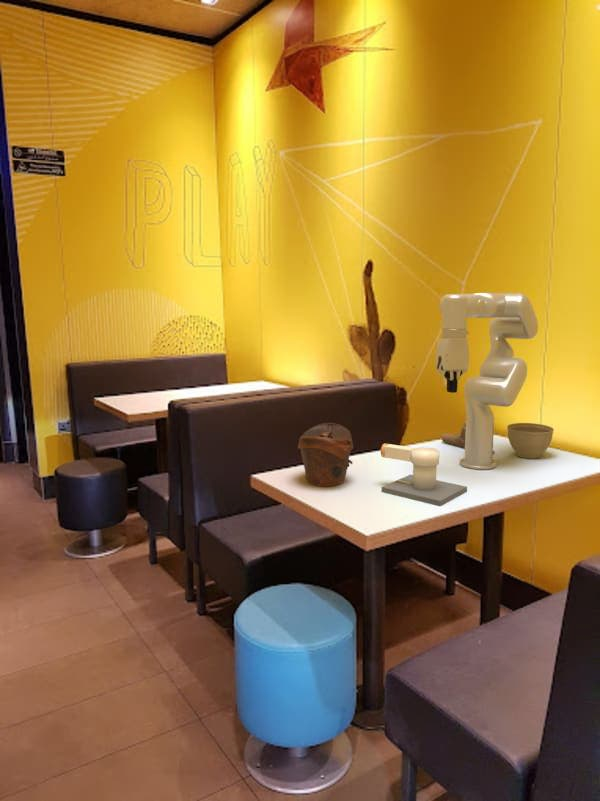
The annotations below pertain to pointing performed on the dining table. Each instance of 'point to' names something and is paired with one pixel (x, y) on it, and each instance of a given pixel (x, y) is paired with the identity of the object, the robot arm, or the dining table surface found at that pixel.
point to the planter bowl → (529, 439)
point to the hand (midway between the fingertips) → (451, 391)
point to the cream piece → (411, 454)
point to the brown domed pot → (326, 454)
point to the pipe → (456, 437)
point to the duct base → (425, 495)
